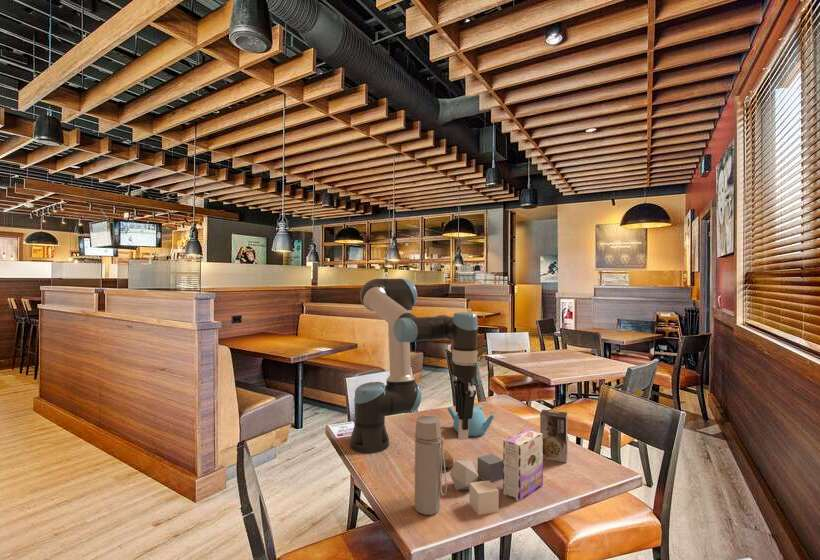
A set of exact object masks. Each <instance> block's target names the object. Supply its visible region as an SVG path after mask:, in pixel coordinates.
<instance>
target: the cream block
mask: <svg viewBox="0 0 820 560" xmlns="http://www.w3.org/2000/svg"><path fill="white" fill-rule="evenodd" d="M499 492H500V490H499V489H498V488H497V487H496V486H495V485H494V484H493V483H491V482H490V481H489V480H488V481H485V480H482V481H476V482H473V483H470V490H469V505H470V506H471V507H472V509H473V510H474V512H476V514H477V515H478V516H482V515H481V514H483V515H488V514H487V513H489V514H494V512H495V513H499Z"/></svg>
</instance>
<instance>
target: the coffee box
mask: <svg viewBox="0 0 820 560" xmlns="http://www.w3.org/2000/svg"><path fill="white" fill-rule="evenodd" d="M539 428H540V429H539V430H540V431H539V433H542V434H543V460H547V461H555V462H560V463H568V457H569V456H568V455H569V454H568V447H569V446H568V412H566V411H557V410H550V409H541V412H540V413H539Z"/></svg>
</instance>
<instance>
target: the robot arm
mask: <svg viewBox="0 0 820 560" xmlns="http://www.w3.org/2000/svg"><path fill="white" fill-rule="evenodd" d="M359 300H360V302H361V304H362V305H363V306H364V307H365V308H366V309H367V310H368V311H371V312H374V313H376V314H377V315H378V316H379V317H380V318H382V319H383V320H384V321H385V322H387V327H388V328H387V329H388V330H387V331H388V354H389V355H388V359H389V376H388V377H387V378H386V381H385V382H386V384H385V383H384V382H381V381H370V382H366V383H362V384H360V385H359V386H358V387H357V388H355V391H354V398H353V401H354V423H353V424H354V425H353V429H352V433H351V434H350V435H351V436H350V437H349V438H350V439H349V448H350V449H351V450H352V451H353V452H356V453H360V454H361V453H362V454H374V453H380V452H383V451H385V450H387V448H389V446H390V437H389V434H388V430H387V428H386V425H385V423H386V420H385V417H390V416H395V415H401V414H409V413H412V412H415V411H416V410H417V409H419V407H420V405H421V402H422V397H423V396H422V393H423V392H422V388H421V386H420V383H418V382H417V381H416V378H415V377H414V376H413V375H412V364H411V363H412V362H411V361H412V360H411V343H415V342H424V341H425V342H426V341H439V340H440V341H441V340H447V341H452V354H451V355H452V357H451V358H452V359H451V360H452V362H453V363H452V366H451V369H452V375H453V376H454V377H456V380H453V381H452V383H453V390H454V391H453V392H454V404H455V406H454V407H455V413H456V414H457V413H458V416H459V427H458V433H457V434H458V436H457V437H458V439H459V440H460V441H461V440H462V441H464V440H469V436H468V426H469V419H472V415H473V407H475V398H476V395H477V390H475V389H473V385H474V384H473V378H475V377H477V375H478V365H477V362H478V355H479V352H478V335H479V333H478V330H479V325H478V323H479V322H478V315H477V314H476V313H474V312H465V311H463V312H459V311H458V312H454V314H453V315H452V316H450V315H447V314H441V315H439V314H438V315H435V316H426V317H425V316H416V315H414V314H413V313H412V311H413V307H415V306H416V304H417V301H418V290H417V288H416V286H415V284H414V283H413V281H412V280H410V279H407V278H373V279H371V280H368V281H367V282H366V283H365V284H364V285H363V286H362V287H361V289H360V292H359Z"/></svg>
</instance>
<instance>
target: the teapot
mask: <svg viewBox="0 0 820 560" xmlns="http://www.w3.org/2000/svg"><path fill="white" fill-rule="evenodd" d="M447 412H448V413H449V414H450V416H451V418H452V419H453V423H452V424H453V425H452V426H453V429H454V431H456V433H457V434H458V427H459V416H458V412H457V413H456V410H454V408H453V406H450V407H448V408H447ZM495 416H496V415H495V414H489V416H488V418H486V416H485V414H484V412H483V406H482V405H481V404H478V405H476V406H474V407H473V415H472V419H469V426H468V437H472V436H474V437H481V436H482V435H484V434H485V433H486V432H487V431H488V429H489V428H490V426H491V424H492V422H493V420H494V418H495ZM480 435H481V436H480Z"/></svg>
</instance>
